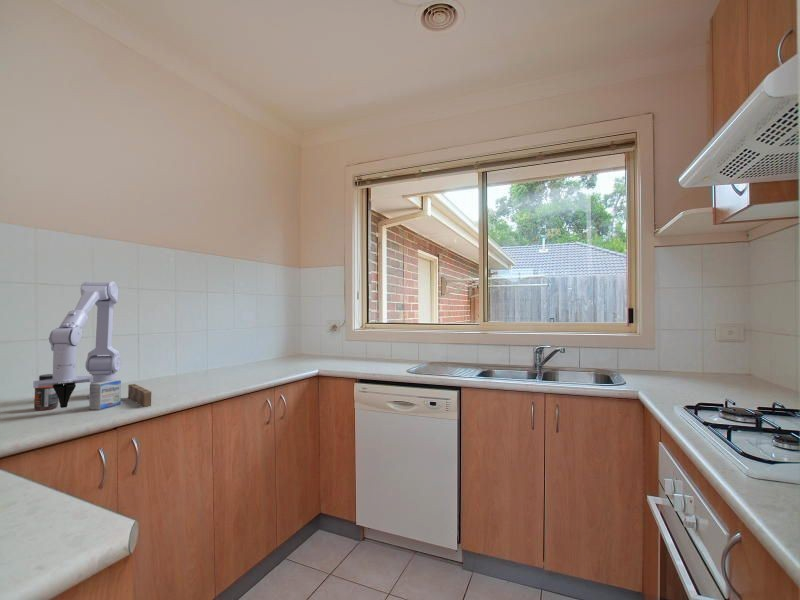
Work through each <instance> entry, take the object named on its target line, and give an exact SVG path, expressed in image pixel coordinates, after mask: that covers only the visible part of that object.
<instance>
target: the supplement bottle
mask: <svg viewBox="0 0 800 600" xmlns="http://www.w3.org/2000/svg"><path fill="white" fill-rule="evenodd" d="M47 379H53V373H46V374H40V375H39V377H38V381H40V380H47ZM33 399H34V400H33V402H34V404H33V405H34V406H33V409H34V411H49V410H53V409H54V410H55V409H56V408H58V406H59V399H58V396H57V394H56V392H55V390H54V388H53V387H52V386H46V387H39V388H34V398H33Z"/></svg>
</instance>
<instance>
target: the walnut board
mask: <svg viewBox="0 0 800 600" xmlns="http://www.w3.org/2000/svg"><path fill="white" fill-rule="evenodd" d="M127 387H128V388H127V389H128V391H127V393H128V395H127V397H128V399H129V400H131V401H133V402H134V403H136V404H137V405H139V406H142V407H143V408H148V406H150V407H152V391H150V390H148V389H146V388H144V387H142V386H140V385H138V384H136V383H130V384H128V386H127Z"/></svg>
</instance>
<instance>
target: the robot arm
mask: <svg viewBox="0 0 800 600" xmlns="http://www.w3.org/2000/svg"><path fill="white" fill-rule="evenodd" d="M79 290H80V294H81V296H80V299H79V300H78V302H77V304H76V307H75V309H73V310H70V311H69V312H68V313H67V314H66V316H65V317H64V318H63V320H62V322H61V324H60V325H59V327H56V328H55V329H52V330H51V332H50V334H49V337H48V342H49V344H50V350H51V352H52V354H53V358H52V359H53V360H52V374H53V379H47V380H40V381H39V380H34V381H33V384H32V385H33V389H35V388H39V387H46V386H52V387H53V388H54V390H55V392H56V394H57V396H58V403H59V407H60V408H61V409H63V408H65V409H66V408H67V407H68V403H69V400H70V399H71V397H72V396H71V395H72V394H73V392H74V390H75V389H76V386H77V385H76V384H84V383H90V384H93V383H99V382H104V381H109V380H116V373H117V372H118V371H119V370H120V369H121V366H122V358H121V352H120V351H119V350H118V349H115V348H114V347H113V331H114V329H113V327H114V326H113V325H114V307H115V306H114V305H116V304H117V303H118V300H119V287H118V286H117V284H116V282H115V281H89V280H85V281H83V282H82V284H81V285H80V289H79ZM94 305H95V306H96V307H97V308H96V309H97V311H96V329H95V331H96V332H95V348H94V349H92V350H90V351H89V352H88V353H87V359H86V361H85V369H86V371H87V372H88V373H89V375H82V376H81V375H79V376H78V375H77V349H78V348H77V346H78V345H79V344H80V343H81V342H82V341H81V340H82V337H83V336H82V335H83V329H84V327H85V326H86V323H87V322H88V320H89V316H88V313H89V312H90V311H91V309H92V308H93V307H94ZM86 396H87V397H88V398H89V399H90V393H89V394H86Z"/></svg>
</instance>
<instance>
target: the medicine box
mask: <svg viewBox="0 0 800 600" xmlns="http://www.w3.org/2000/svg"><path fill="white" fill-rule="evenodd" d="M89 394H90V398H89V405H88V406H89V410H93V411H94V410H96V411H102V410H106V409H109V408H113V407H117V406H120V405H121V404H122V403H121V399H122V398H121V397H122V396H121V394H122V380H120V379H115V380H109V381H104V382H99V383H93V384H91V383H90V384H89Z"/></svg>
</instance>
